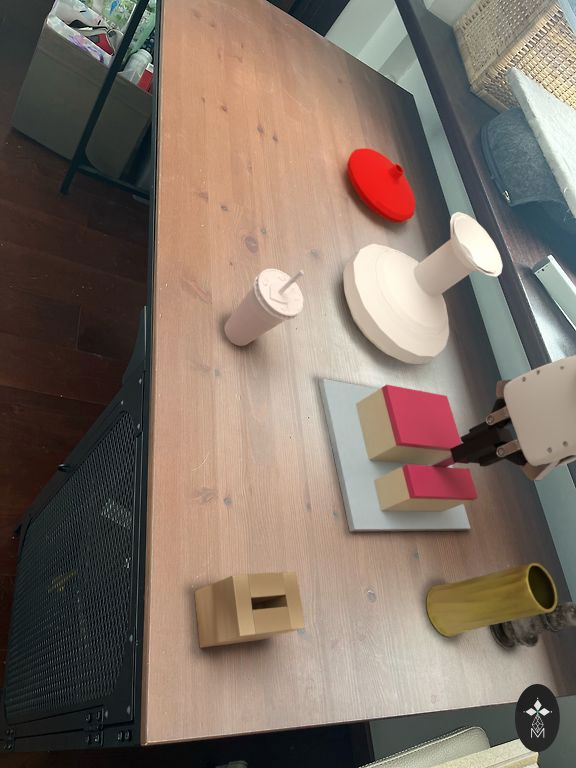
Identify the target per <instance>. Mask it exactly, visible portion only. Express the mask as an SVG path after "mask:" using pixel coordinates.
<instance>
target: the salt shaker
mask: <svg viewBox="0 0 576 768" xmlns="http://www.w3.org/2000/svg"><path fill="white" fill-rule="evenodd" d="M571 627H576V603H574V602H572V601H563V602H559V603H558V602H557V605H556V607H555V609H554V610H553V611H552V612H547V613H542V614H537V615H534V616H530V617H525V618H520V619H516V620H511V621H506V622H502V623H498V624H493V625H489V628H490V631H491V634H492V636H493V638H494V640H495V642H496V643H497V644H498V645H499V646H500V647H502V648H503V649H511V648H512V649H513V647H514V646H515V644H516V645H519V646H524V647H527V648H534V647H536V646H537V645H538V644H539V642H540V638H541V634H544V633H548V632H551V633H553V634H557V633H559V632H560V631H561V629H566V628H571Z"/></svg>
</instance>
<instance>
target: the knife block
mask: <svg viewBox="0 0 576 768" xmlns="http://www.w3.org/2000/svg"><path fill="white" fill-rule="evenodd" d="M300 593H301V592H300V586H299V579H298V576H297V571H281V572H266V573H264V572H263V573H249V574H246V573H245V574H233V575H231V576H227V577H226V578H223V579H220V580H218V581H216V582H214V583H211V584H208V585H207V586H204V587H202V588H199V589H197V590H195V591H194V602H195V611H196V624H197V633H198V644H199V648H200V649H203V648H210V647H217V646H218V647H219V646H224V645H231V644H240V643H247V642H254V641H261V640H266V639H270V638H272V637H273V638H274V637H277V636H280V635H284V634H285V635H286V634H288V633H291V632H296V631H300V630H303V629H306V623H305V617H304V611H303V604H302V599H301V594H300Z"/></svg>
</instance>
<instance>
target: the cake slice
mask: <svg viewBox="0 0 576 768" xmlns="http://www.w3.org/2000/svg"><path fill="white" fill-rule="evenodd" d="M374 483H375V487H376V491H377V496H378V500H379V504H380V508H381V511H440V512H443V511H446V510H449V509H451V508H454V507H456V506H459V505H462V504H464V505H465V504H467V503H469V502H472V501H474V500H477V499H479V496H478V493H477V490H476V487H475V483H474V480H473V476H472V474H471V470H470V469H469V468H462V467H461V468H460V467H453V468H450V467H438V466H425V465H412V464H407V465H405V466H402V467H400V468H398V469H396V470H394V471H392V472H390V473H388V474H386V475H384V476H382V477H379V478H377V479H375V480H374Z"/></svg>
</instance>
